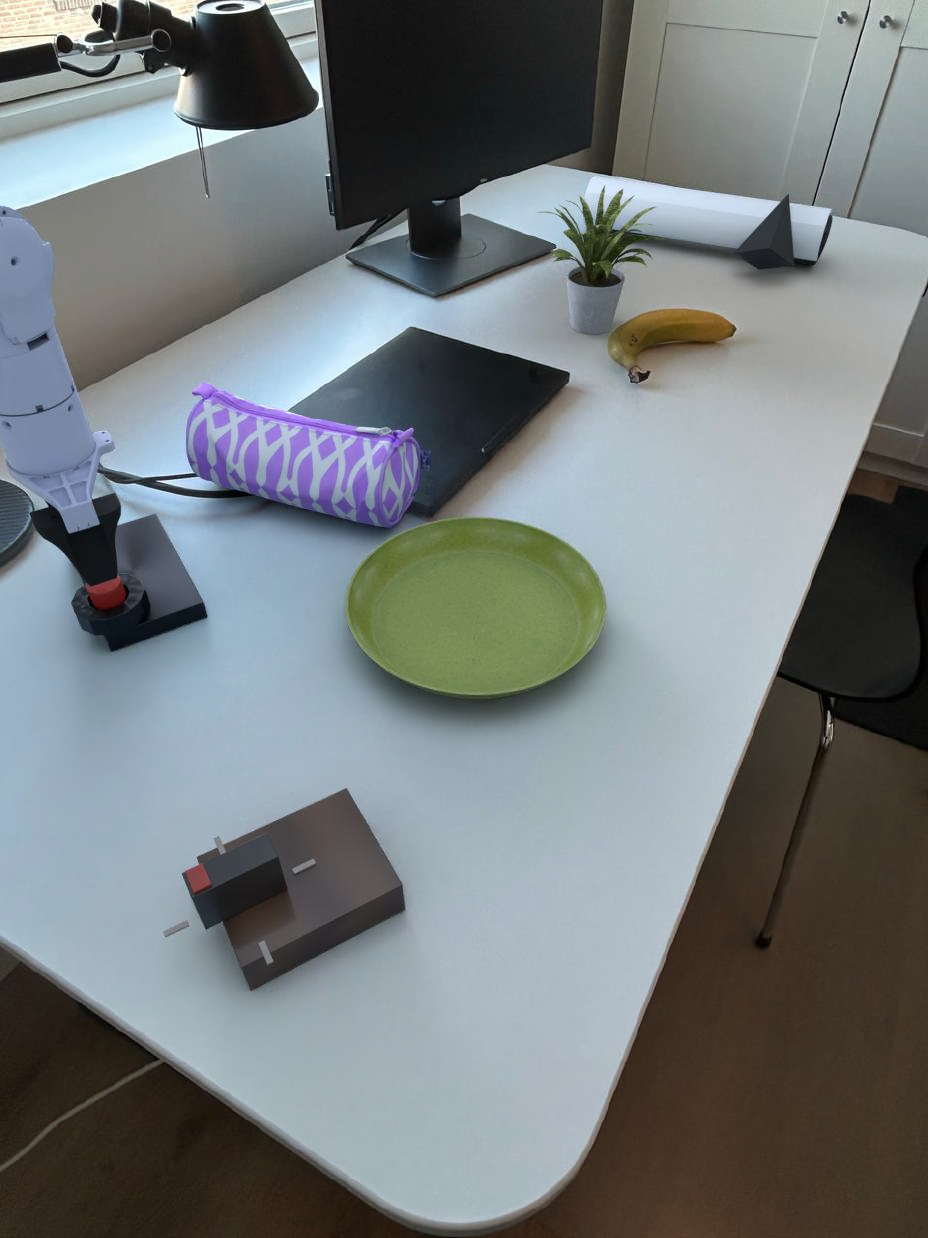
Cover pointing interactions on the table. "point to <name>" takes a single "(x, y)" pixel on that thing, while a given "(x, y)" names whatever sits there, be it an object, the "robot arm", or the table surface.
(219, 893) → the stamp handle
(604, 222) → the house plant
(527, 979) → the table surface
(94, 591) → the dock button
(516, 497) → the table surface
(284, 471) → the pencil case
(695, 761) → the table surface
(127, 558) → the button dock
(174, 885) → the table surface
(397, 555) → the green plate
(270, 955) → the stand
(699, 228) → the diploma
